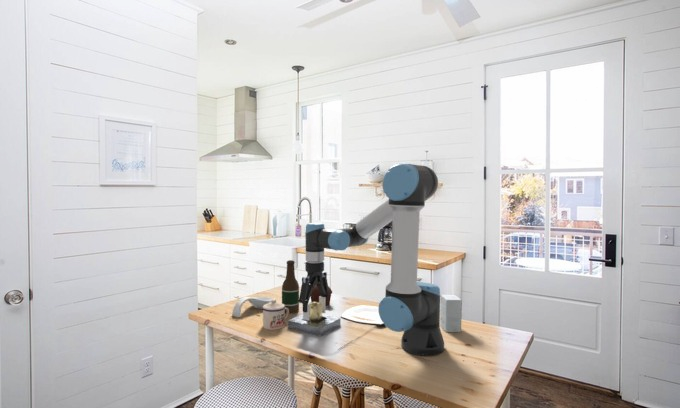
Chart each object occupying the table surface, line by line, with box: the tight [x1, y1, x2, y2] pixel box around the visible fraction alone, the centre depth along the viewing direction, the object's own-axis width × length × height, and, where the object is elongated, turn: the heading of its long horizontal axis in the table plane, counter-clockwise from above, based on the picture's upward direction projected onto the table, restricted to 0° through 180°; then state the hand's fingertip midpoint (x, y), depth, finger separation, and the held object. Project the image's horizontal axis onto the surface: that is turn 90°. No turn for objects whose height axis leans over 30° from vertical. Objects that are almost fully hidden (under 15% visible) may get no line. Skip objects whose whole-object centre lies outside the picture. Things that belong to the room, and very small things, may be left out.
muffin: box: [310, 285, 333, 308], centre depth 186 cm, size 12×11×10 cm
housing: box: [287, 313, 341, 337], centre depth 154 cm, size 16×14×4 cm
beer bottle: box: [281, 259, 300, 315], centre depth 173 cm, size 8×8×24 cm
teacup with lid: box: [262, 298, 290, 331], centre depth 155 cm, size 12×9×12 cm
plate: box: [340, 304, 385, 326], centre depth 168 cm, size 23×23×2 cm
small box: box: [440, 294, 463, 333], centre depth 155 cm, size 8×6×13 cm
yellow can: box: [307, 302, 323, 324], centre depth 154 cm, size 6×6×10 cm
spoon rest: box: [231, 296, 275, 318], centre depth 178 cm, size 24×12×7 cm, turn 152°
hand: (314, 316), depth 154 cm, fingers open, 10 cm apart
